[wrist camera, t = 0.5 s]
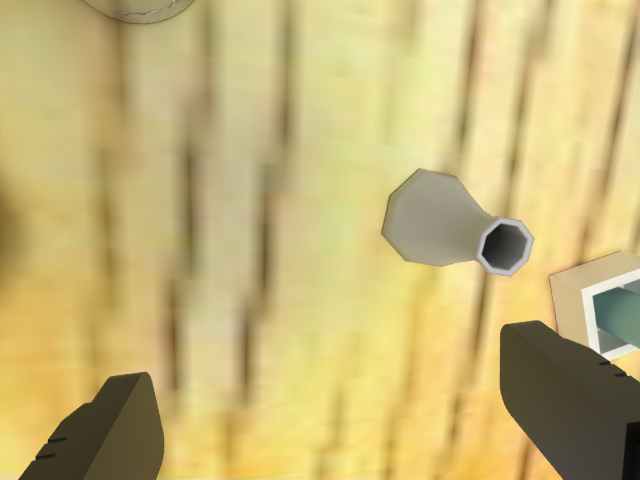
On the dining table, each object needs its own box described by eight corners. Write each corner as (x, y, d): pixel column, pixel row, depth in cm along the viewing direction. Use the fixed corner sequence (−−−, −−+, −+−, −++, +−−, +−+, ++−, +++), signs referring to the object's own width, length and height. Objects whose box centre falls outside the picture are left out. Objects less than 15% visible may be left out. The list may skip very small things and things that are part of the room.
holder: (549, 275, 35) (581, 289, 32) (620, 250, 36) (659, 261, 32) (560, 347, 37) (592, 367, 33) (629, 321, 37) (667, 338, 34)
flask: (414, 151, 31) (489, 152, 22) (491, 199, 33) (591, 219, 23) (364, 238, 32) (415, 276, 22) (442, 280, 34) (520, 333, 24)
